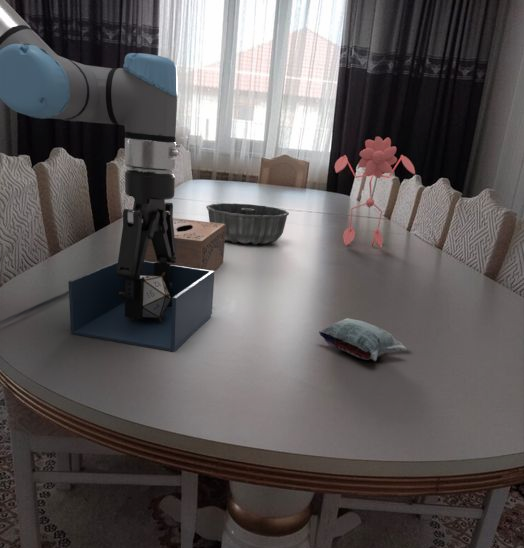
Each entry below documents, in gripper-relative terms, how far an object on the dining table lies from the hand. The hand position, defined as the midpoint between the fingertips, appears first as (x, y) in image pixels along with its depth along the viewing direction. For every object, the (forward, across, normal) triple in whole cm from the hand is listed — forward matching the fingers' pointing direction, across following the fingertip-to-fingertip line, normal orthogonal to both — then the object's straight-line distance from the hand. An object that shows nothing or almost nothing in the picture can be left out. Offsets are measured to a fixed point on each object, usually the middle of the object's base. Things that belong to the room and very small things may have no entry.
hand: (148, 307), depth 88 cm
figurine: (+3, +100, -33) cm, 105 cm away
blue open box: (+3, +5, 0) cm, 6 cm away
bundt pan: (+3, +87, +5) cm, 87 cm away
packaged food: (+3, +3, -36) cm, 36 cm away
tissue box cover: (+3, +38, +8) cm, 39 cm away
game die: (+2, 0, 0) cm, 2 cm away
